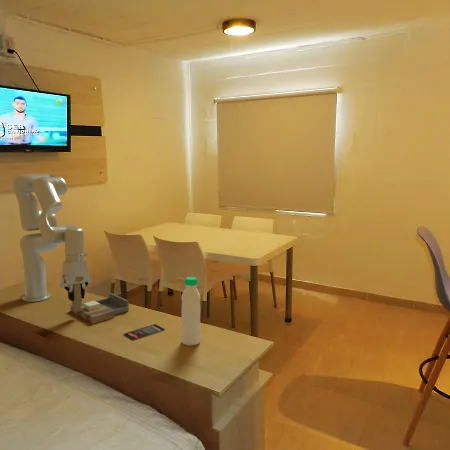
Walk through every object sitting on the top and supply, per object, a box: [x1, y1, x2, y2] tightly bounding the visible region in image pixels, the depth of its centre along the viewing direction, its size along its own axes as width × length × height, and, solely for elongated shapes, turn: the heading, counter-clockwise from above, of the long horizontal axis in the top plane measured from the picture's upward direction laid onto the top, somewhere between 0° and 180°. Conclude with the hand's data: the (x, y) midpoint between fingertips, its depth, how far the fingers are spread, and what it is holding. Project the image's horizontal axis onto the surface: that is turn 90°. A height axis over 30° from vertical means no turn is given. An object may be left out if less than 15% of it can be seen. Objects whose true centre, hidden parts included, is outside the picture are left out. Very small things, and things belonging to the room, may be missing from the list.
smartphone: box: [123, 323, 165, 342], centre depth 163 cm, size 7×1×15 cm
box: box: [95, 292, 129, 317], centre depth 187 cm, size 16×8×5 cm, turn 46°
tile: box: [84, 300, 100, 311], centre depth 181 cm, size 5×5×2 cm
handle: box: [71, 277, 84, 312], centre depth 175 cm, size 5×6×15 cm
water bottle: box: [181, 276, 201, 347], centre depth 153 cm, size 7×7×25 cm
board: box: [69, 299, 115, 325], centre depth 181 cm, size 20×10×3 cm, turn 46°
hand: (76, 298), depth 175 cm, fingers closed on handle, 4 cm apart
